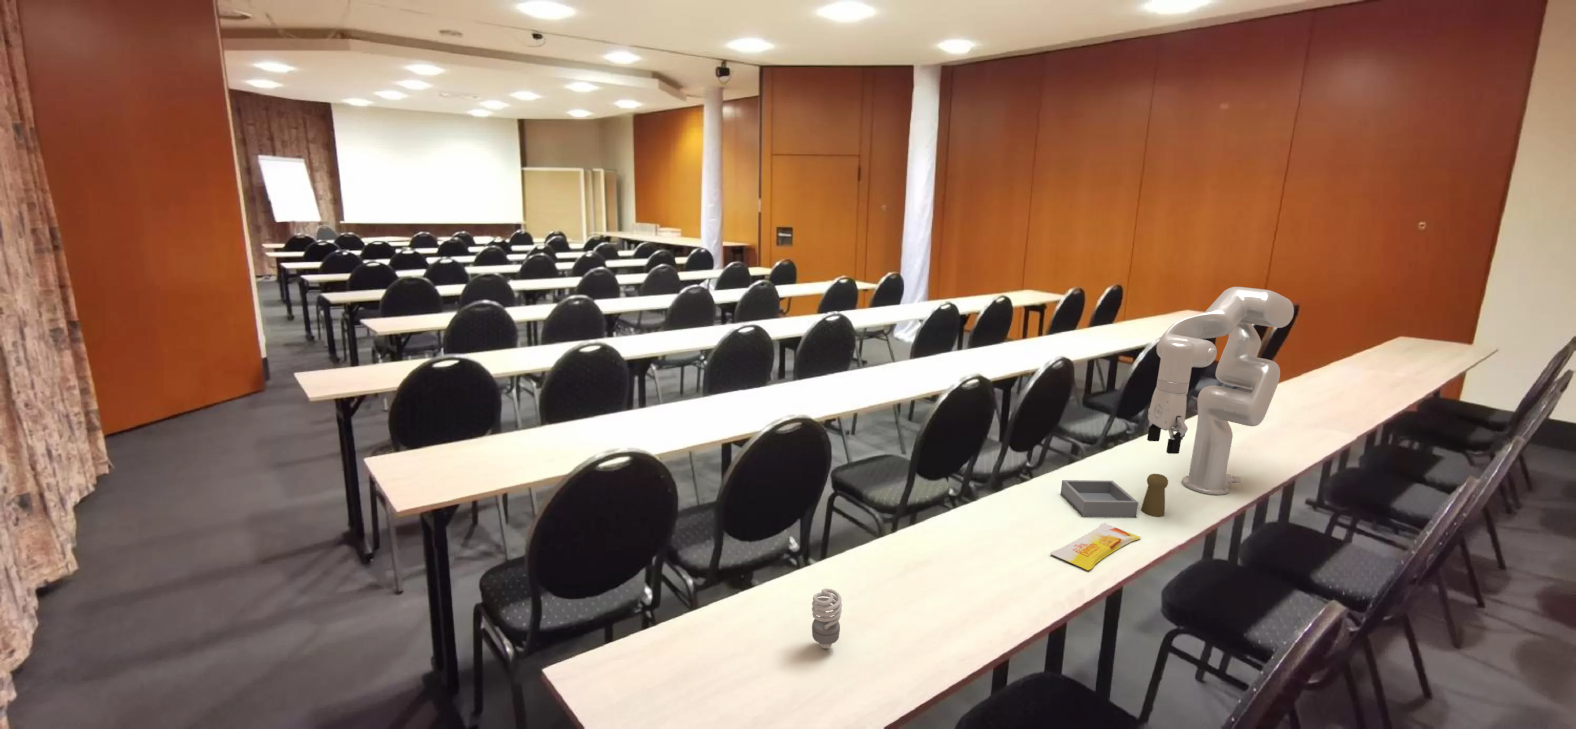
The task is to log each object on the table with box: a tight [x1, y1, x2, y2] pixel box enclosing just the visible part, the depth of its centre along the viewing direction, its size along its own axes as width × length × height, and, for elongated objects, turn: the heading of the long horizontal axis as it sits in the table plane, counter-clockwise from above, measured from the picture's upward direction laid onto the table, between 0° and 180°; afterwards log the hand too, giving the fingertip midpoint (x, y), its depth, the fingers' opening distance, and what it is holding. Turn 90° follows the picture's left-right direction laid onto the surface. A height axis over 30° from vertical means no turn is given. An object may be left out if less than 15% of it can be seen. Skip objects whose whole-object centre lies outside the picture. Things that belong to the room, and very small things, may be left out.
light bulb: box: [811, 588, 843, 649], centre depth 136 cm, size 6×6×12 cm
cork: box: [1140, 473, 1169, 518], centre depth 199 cm, size 6×6×11 cm
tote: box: [1060, 479, 1139, 519], centre depth 203 cm, size 15×15×4 cm
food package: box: [1049, 522, 1141, 571], centre depth 179 cm, size 27×2×10 cm
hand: (1162, 446), depth 195 cm, fingers open, 9 cm apart
